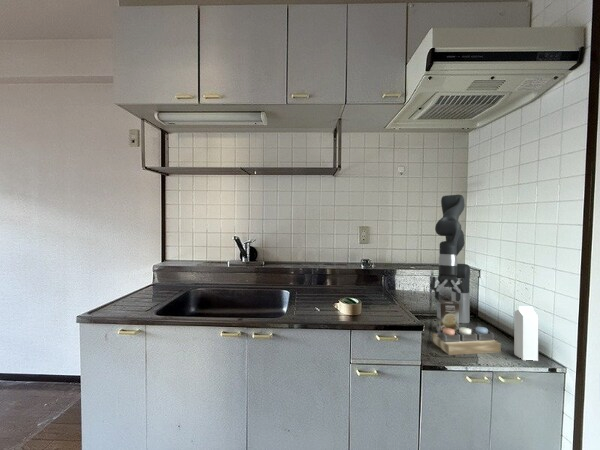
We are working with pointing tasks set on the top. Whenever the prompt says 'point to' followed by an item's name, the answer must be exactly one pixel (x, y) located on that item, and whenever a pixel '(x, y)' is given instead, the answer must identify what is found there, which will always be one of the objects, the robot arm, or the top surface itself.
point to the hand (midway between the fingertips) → (447, 300)
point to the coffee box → (447, 315)
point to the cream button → (464, 330)
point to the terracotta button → (448, 331)
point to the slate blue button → (481, 330)
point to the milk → (526, 333)
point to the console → (467, 343)
